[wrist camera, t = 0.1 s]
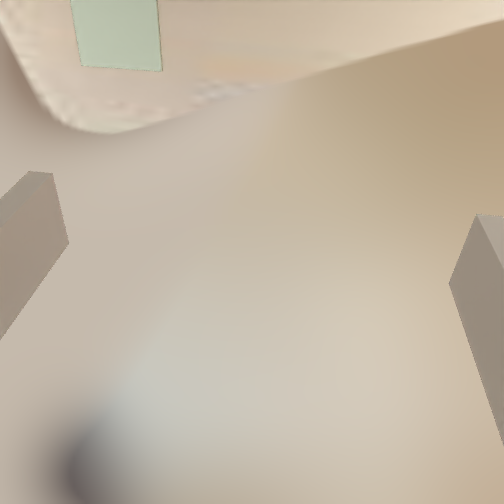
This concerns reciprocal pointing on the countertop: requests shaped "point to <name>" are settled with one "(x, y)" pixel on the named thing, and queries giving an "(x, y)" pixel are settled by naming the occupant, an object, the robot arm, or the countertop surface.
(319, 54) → the countertop surface
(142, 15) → the mat
